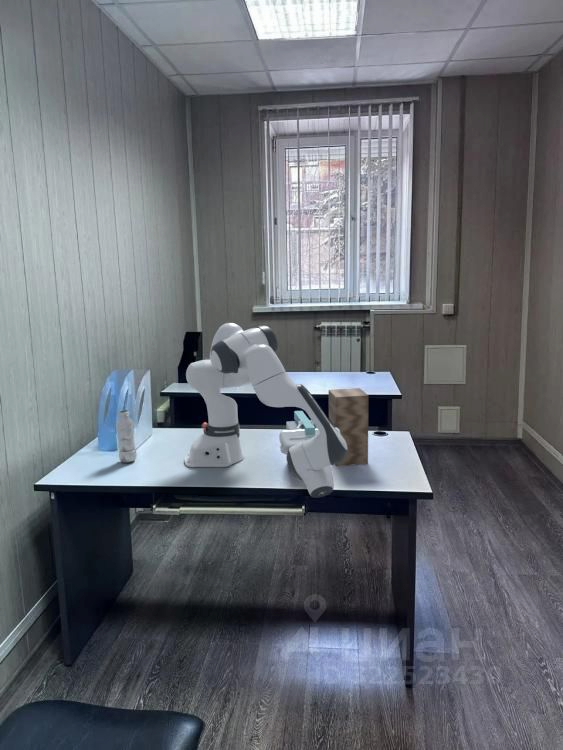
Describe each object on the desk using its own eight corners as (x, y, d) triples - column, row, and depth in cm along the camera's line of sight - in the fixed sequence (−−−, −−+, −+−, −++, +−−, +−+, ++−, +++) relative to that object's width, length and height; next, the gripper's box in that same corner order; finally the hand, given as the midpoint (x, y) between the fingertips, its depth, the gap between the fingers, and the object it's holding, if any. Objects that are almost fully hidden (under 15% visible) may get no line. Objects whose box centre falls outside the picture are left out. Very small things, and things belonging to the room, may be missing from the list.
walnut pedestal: (336, 466, 198) (335, 397, 193) (329, 455, 210) (328, 389, 205) (367, 464, 200) (368, 395, 195) (359, 453, 211) (359, 388, 206)
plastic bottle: (140, 461, 209) (136, 410, 205) (124, 466, 204) (120, 414, 200) (131, 457, 213) (127, 408, 209) (115, 462, 208) (111, 411, 205)
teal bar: (306, 437, 178) (306, 428, 178) (294, 419, 204) (294, 411, 203) (315, 436, 179) (315, 427, 178) (302, 418, 204) (302, 410, 204)
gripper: (281, 461, 175) (276, 430, 186) (342, 457, 178) (334, 426, 188) (281, 448, 171) (276, 417, 182) (345, 444, 174) (336, 413, 184)
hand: (306, 422), depth 185 cm, fingers closed on teal bar, 3 cm apart
